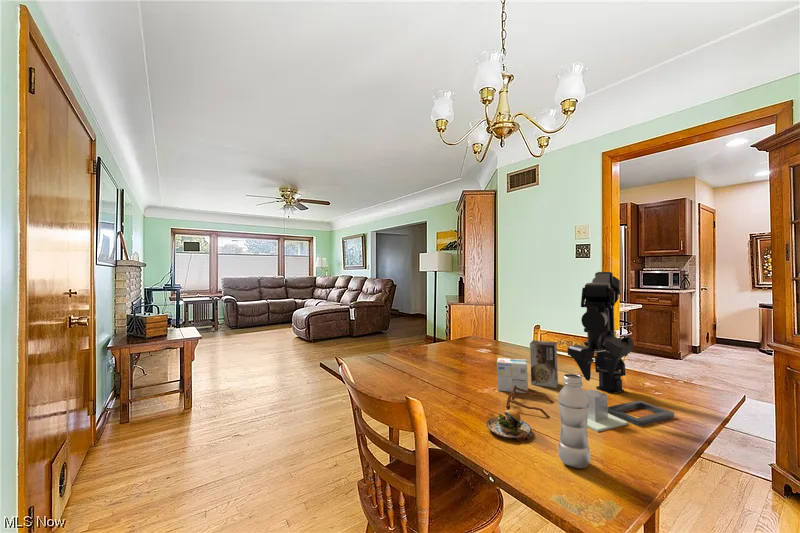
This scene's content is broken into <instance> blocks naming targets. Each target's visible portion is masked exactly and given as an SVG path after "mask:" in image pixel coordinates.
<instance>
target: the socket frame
mask: <svg viewBox="0 0 800 533" xmlns="http://www.w3.org/2000/svg"><path fill="white" fill-rule="evenodd" d="M640 408H642V409H645V410H647V411H650V412H652V413H653V414H649V415H644V416H640V417H639V416H638V417H636V416H633V415H631V414H628V413H626V412H627V411H632V410H636V409H640ZM608 414H610V415H613V416H615V417H617V418H620V419H622V420H624V421H627V422H628V423H630V424H632V425H634V426H637V427H642V426H646V425H651V424H654V423H658V422H662V421H667V420H669V419H670V420H671V419H674V418H675V412H674V411H672V410H668V409H666V408H662V407H660V406H657V405H654V404H651V403H648V402H645V401H644V400H640V399H639V400H635V401H629V402H626V403H625V402H624V403H621V404H616V405H611V406H608Z"/></svg>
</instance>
